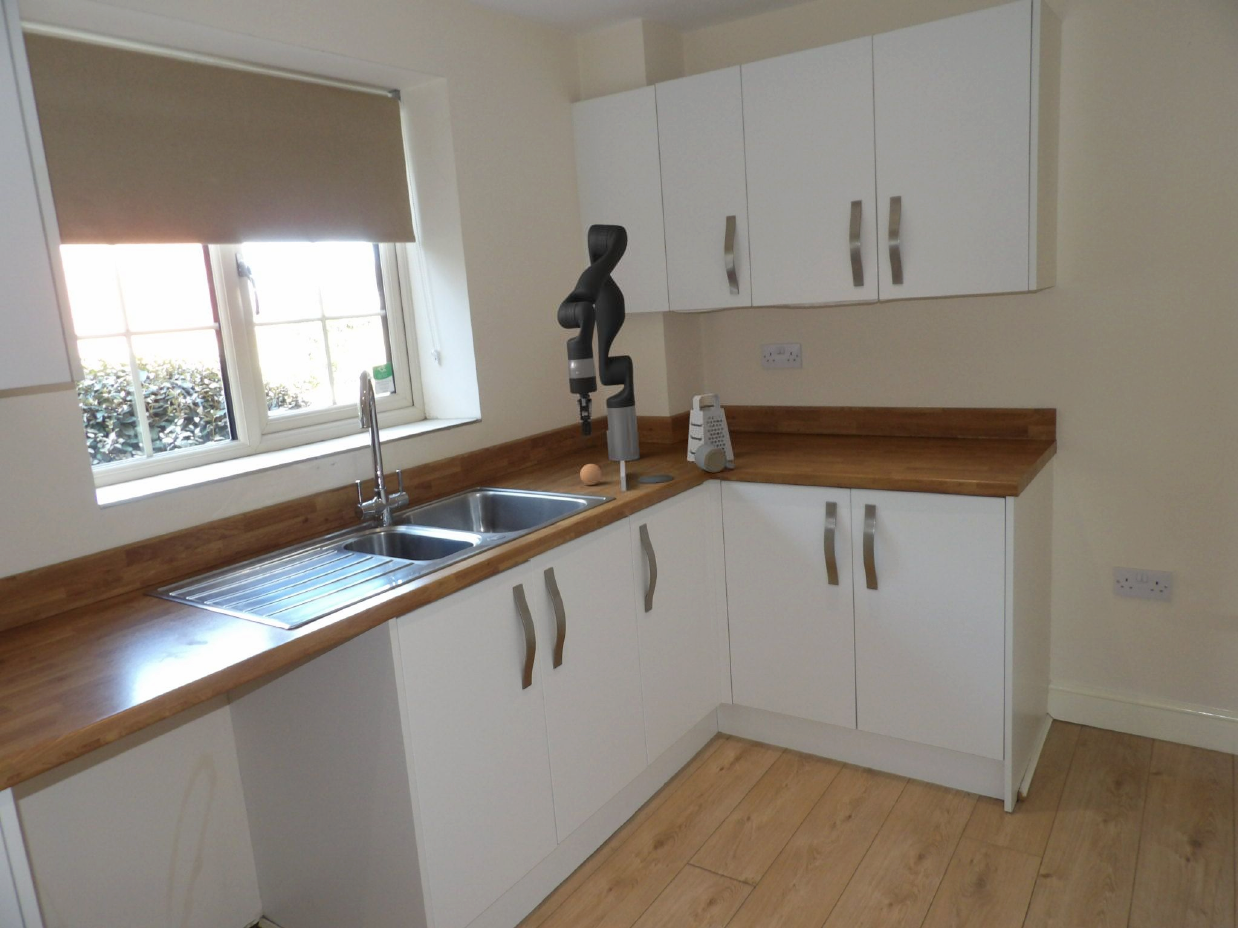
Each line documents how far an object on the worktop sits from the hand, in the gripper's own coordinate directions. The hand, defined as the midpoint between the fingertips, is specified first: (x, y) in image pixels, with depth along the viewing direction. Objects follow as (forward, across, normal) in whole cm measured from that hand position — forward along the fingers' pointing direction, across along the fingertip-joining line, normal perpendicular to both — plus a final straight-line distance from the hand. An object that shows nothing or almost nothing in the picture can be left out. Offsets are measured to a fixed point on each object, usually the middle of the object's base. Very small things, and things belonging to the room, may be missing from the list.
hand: (587, 433), depth 251 cm
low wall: (+15, 0, -9) cm, 17 cm away
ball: (+12, 0, 0) cm, 12 cm away
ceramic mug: (+15, +7, -36) cm, 39 cm away
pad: (+15, 0, -18) cm, 23 cm away
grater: (+15, +24, -36) cm, 46 cm away
